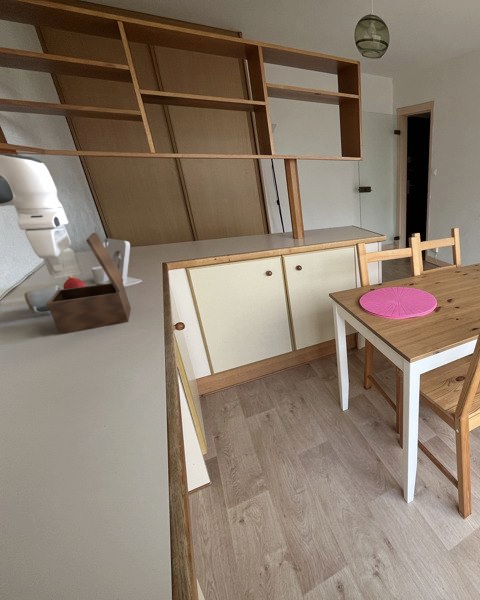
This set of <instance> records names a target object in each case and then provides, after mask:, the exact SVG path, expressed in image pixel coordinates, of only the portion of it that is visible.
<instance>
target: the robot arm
mask: <svg viewBox="0 0 480 600" xmlns="http://www.w3.org/2000/svg"><path fill="white" fill-rule="evenodd" d="M6 206H7V207H8V206H14V208H15V211H16V214H17V217H18V220H17V225H18V227H19V229H20V230H22V231H23V230H24V233H25V236H26V238H27V240H28V243H29V244H30V246H31V248H32V250H33V251H34V253H35V255H36V256H37V257H38V258H39V259H43V258H48V260H49V262H50V263H51V264H52V266H53V268H54V270H55V271H61V270H63V269H64V266H63V263H61V261H60V257H59V255H60V254H61V253H62V252H63V251H64V250H65V249H66V248H67V247H68V248H70V246H71V245H72V240H71V238H70V235H69V233H68V230H67V228H66V226H65V225H68V224H69V223H70V221H69V219H68V217H67V214H66V212H65V209H64V206H63V204H62V203H61V202H60V200H59V197H58V189H57V186H56V184H55V182H54V180H53V177H52V175H51V173H50V171H49V169H48V167H47V166H46V164H45V163H44V162H43V161H42V160H40V159H38V158H35V157H33V156H28V155H21V154H13V153H8V152H7V153H5V152H4V153H0V207H6Z"/></svg>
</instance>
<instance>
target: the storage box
mask: <svg viewBox="0 0 480 600" xmlns="http://www.w3.org/2000/svg"><path fill="white" fill-rule="evenodd" d="M47 306H48V308H49V310H48V311H50V313H51V314H50V315H51V318H52V321H53V322H54V325H55V327H56V330H57V331H58V334H59V335H66V334H70V333H76V332H81V331H82V332H83V331H87V330H93V329H96V328H102V327H107V326H114V325H119V324H123V323H129V322H130V321H129V320H130V316H131V315H130V314H131V310H132V307H131V304H130V301H129V298H128V294H127V292H126V288H125V287H124V285H123V283H122V286H121V290H120V292H117V291H116V290H115V288H114V286H113V285H112V283H109V284H101V285H100V284H93V285H86V286H85V287H77V288H70V289H64V288H63V289H61V290H57V292H56V293H55V294H54V295H53V297H52V298H51V299H50V300H49V301H48V303H47Z"/></svg>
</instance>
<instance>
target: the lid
mask: <svg viewBox="0 0 480 600" xmlns="http://www.w3.org/2000/svg"><path fill="white" fill-rule="evenodd" d="M85 241H86V243H87V245H88V247H89V248H90V250H91V251H92V254H93V255H94V256H95V258H96V260H97V261H98V263H99V266H102V268H103V270H104V271H105V273H106V275H107V276H108V278H109V280H110V281H111V283H112V285H113V286H114V288H115V290H116V291H117V292H120V290H121V286H122V283H123V278H122V277H121V275H120V273H119V271H118V270H117V268H116V266H115V265H114V263H113V261H112V259H111V258H110V256H109V254H108V252H107V251H106V249H105V247H104V246H103V241H102V240H101V239H100V237H99V235H98V234H97V232H92V233H91V234H90V235H89V236H88V237H87V238H86V239H85Z"/></svg>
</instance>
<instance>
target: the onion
mask: <svg viewBox="0 0 480 600" xmlns="http://www.w3.org/2000/svg"><path fill="white" fill-rule="evenodd" d="M67 277H68V279H66V281H65V282H63V286H62V287H63V289H70V288H77V287H85V286H87V285H86V284H85V282H84V281H82V279H79V278H77V277H74V276H67Z"/></svg>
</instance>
